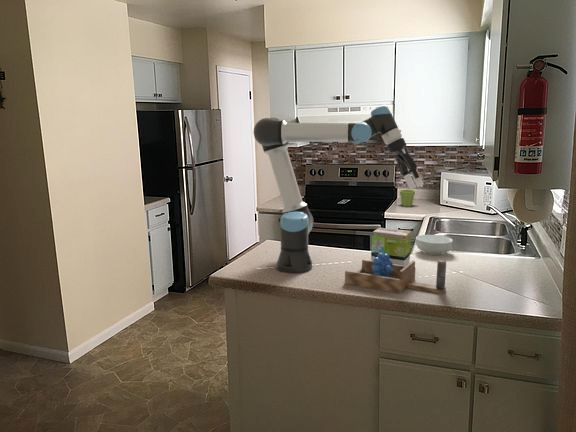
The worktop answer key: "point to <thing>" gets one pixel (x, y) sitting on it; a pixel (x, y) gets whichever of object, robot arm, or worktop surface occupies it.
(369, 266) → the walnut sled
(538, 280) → the worktop surface
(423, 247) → the cereal bowl
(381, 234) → the tea box
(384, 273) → the grapes
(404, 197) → the plant pot
